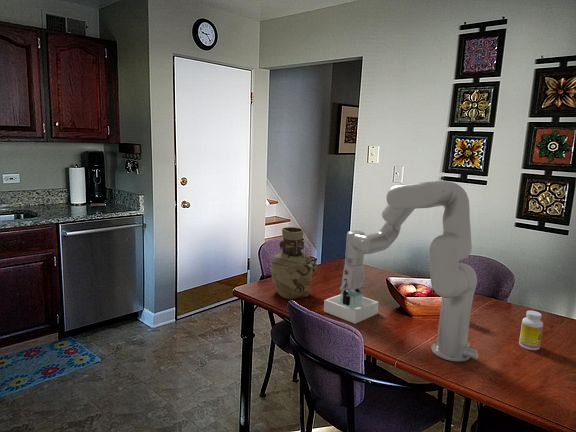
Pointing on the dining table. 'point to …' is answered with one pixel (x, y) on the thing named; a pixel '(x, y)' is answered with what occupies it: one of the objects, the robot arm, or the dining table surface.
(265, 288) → the dining table surface
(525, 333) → the supplement bottle
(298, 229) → the ceramic vessel
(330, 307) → the white square tray
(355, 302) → the small crate
